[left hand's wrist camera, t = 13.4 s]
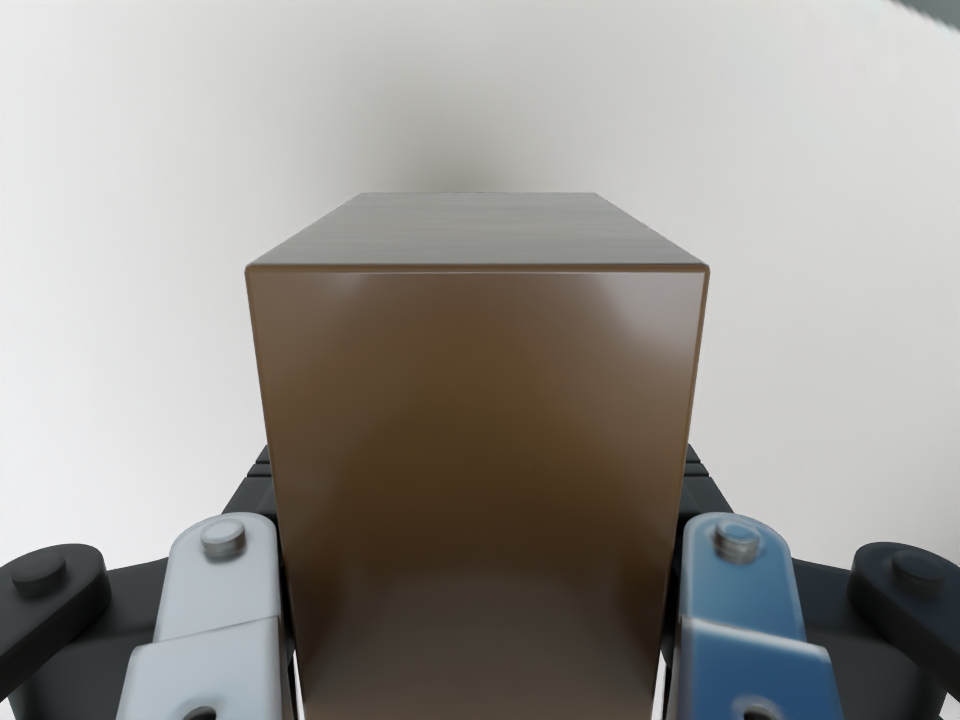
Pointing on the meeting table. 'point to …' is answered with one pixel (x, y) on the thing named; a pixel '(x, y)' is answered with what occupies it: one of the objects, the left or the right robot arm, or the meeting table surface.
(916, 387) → the meeting table surface
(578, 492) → the beam
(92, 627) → the left robot arm
